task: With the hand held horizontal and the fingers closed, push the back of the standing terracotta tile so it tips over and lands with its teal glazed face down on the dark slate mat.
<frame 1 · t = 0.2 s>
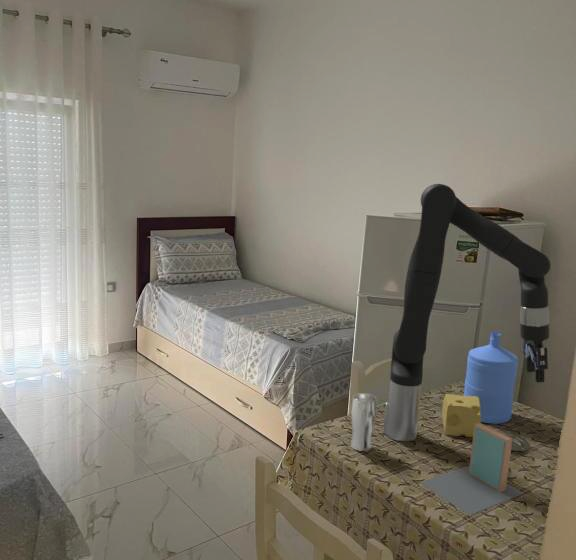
hand: (535, 376, 163), 23 cm above the table, tool pointing down, fingers open, 8 cm apart
beer glass: (360, 447, 164), on the table
mat: (470, 489, 144), on the table
cheese: (459, 431, 178), on the table
water jug: (485, 415, 191), on the table
tile: (486, 481, 147), point 1 cm above the table, touching mat
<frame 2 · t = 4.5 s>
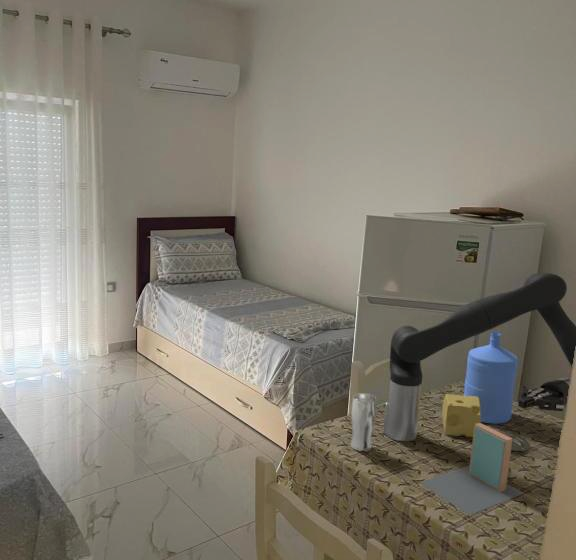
hand: (521, 404, 149), 20 cm above the table, tool horizontal, fingers closed
nothing on the table moved.
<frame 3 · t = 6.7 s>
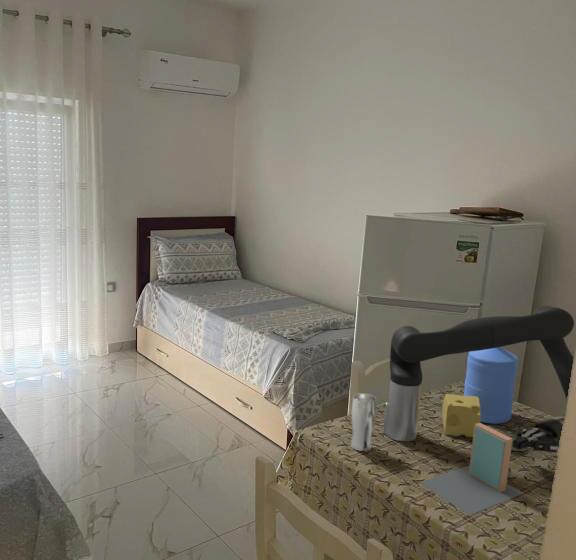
hand: (515, 445, 151), 9 cm above the table, tool horizontal, fingers closed
nothing on the table moved.
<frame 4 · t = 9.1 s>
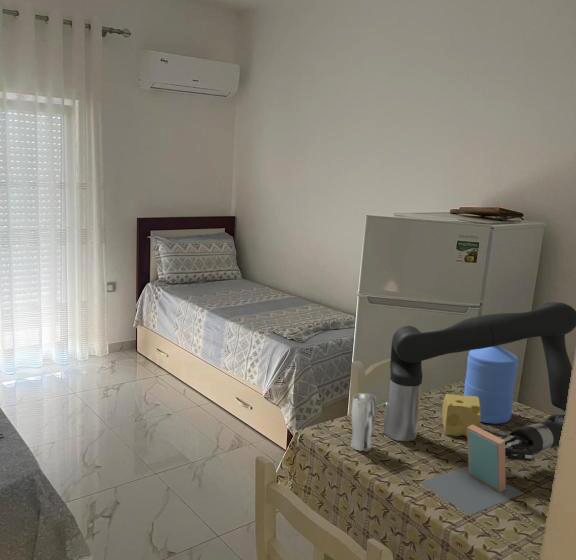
hand: (489, 453, 146), 9 cm above the table, tool horizontal, fingers closed
tile: (486, 481, 147), point 1 cm above the table, tilted 12°, touching mat
everything else where it was.
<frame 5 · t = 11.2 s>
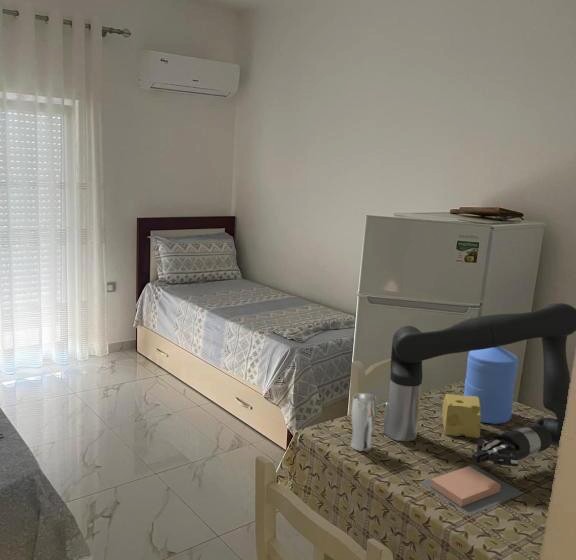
hand: (474, 458, 143), 8 cm above the table, tool horizontal, fingers closed
tile: (484, 478, 147), point 2 cm above the table, tilted 90°, touching mat
everything else where it was.
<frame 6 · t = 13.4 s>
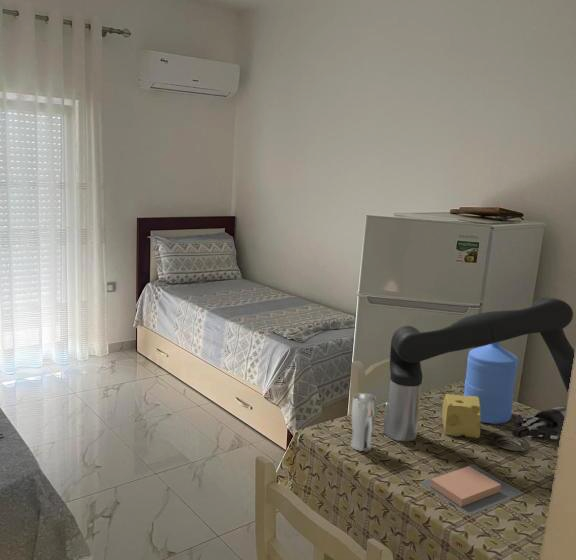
hand: (515, 433, 151), 12 cm above the table, tool horizontal, fingers closed
nothing on the table moved.
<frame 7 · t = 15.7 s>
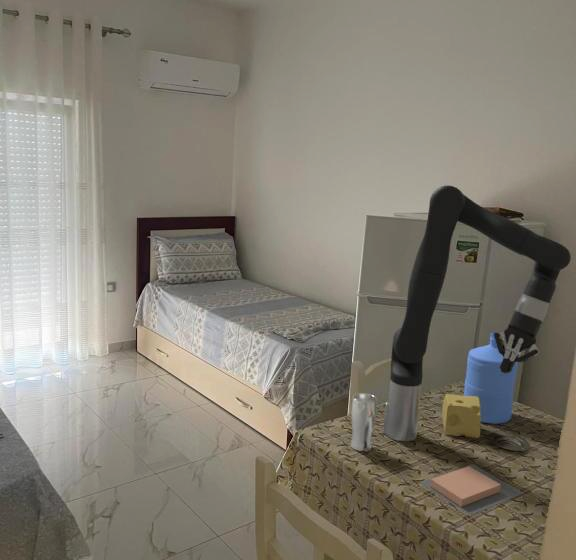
hand: (504, 372, 157), 25 cm above the table, tool tilted 20°, fingers closed
nothing on the table moved.
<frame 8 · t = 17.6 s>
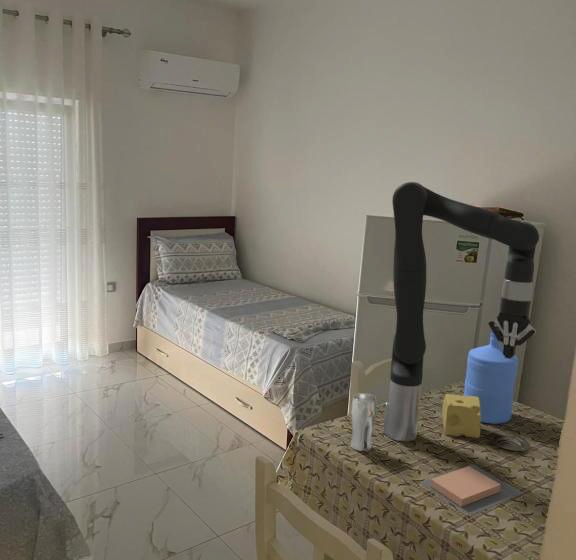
hand: (508, 357, 158), 29 cm above the table, tool pointing down, fingers closed
nothing on the table moved.
at the end: tile tilted 90°; tile touching mat; tile 4.7 cm from the mat (horizontally) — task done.
